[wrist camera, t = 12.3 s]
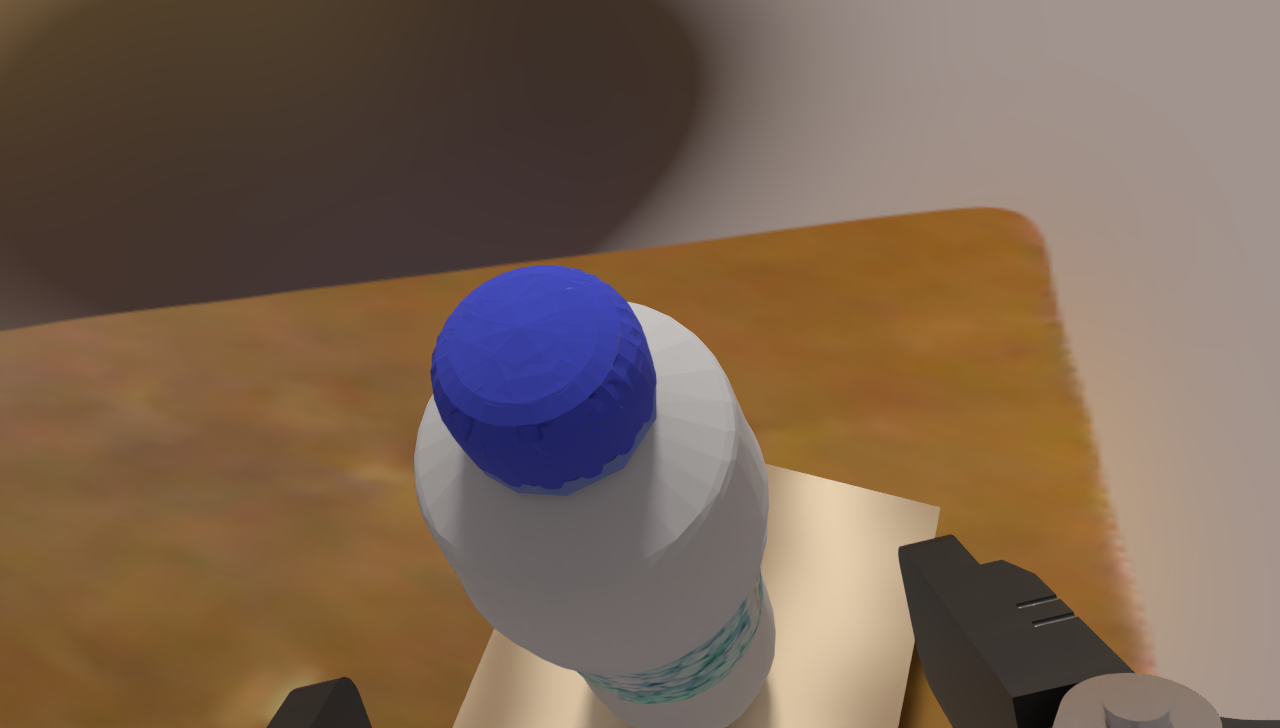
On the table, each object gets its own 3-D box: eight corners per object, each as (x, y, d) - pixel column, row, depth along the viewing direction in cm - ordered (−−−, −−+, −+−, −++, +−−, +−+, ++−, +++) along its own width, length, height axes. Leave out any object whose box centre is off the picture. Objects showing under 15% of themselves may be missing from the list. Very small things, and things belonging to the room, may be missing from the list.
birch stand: (456, 787, 30) (430, 780, 28) (595, 444, 36) (582, 418, 34) (849, 952, 26) (853, 959, 24) (931, 531, 32) (940, 507, 30)
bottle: (797, 570, 30) (786, 166, 13) (766, 777, 26) (696, 603, 10) (616, 537, 31) (395, 143, 14) (566, 727, 28) (208, 506, 11)
